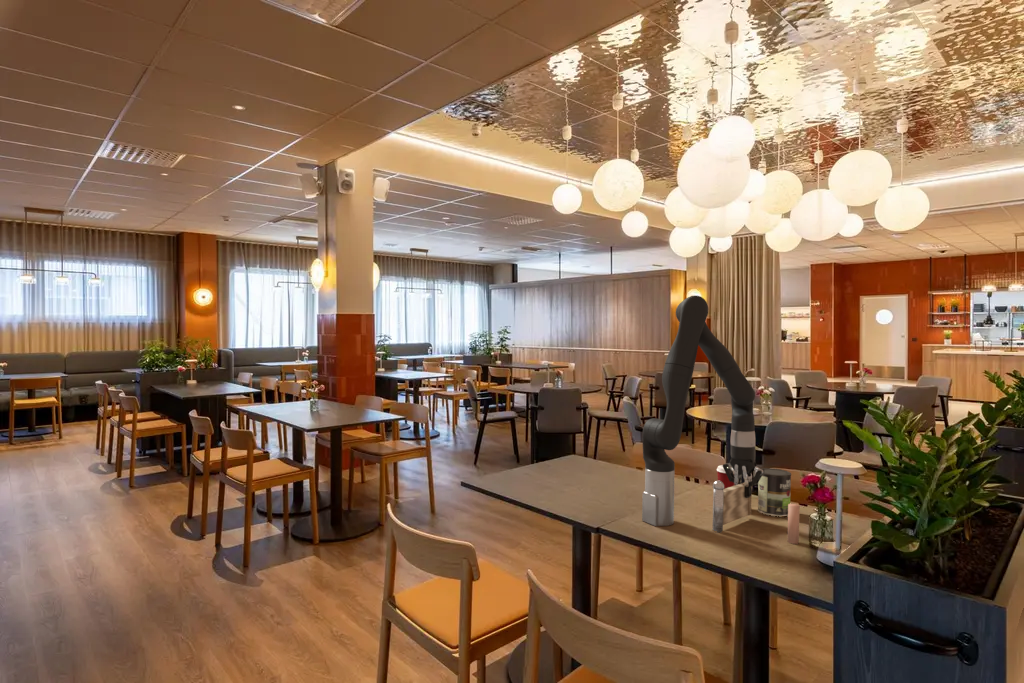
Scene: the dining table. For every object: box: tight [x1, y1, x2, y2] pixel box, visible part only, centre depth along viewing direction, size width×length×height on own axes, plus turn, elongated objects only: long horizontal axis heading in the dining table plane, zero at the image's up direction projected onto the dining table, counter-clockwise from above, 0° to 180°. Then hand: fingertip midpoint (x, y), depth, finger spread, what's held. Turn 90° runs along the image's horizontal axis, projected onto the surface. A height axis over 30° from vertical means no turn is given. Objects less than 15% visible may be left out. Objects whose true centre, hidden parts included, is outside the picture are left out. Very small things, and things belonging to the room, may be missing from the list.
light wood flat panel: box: [723, 481, 753, 526], centre depth 181 cm, size 17×2×10 cm, turn 129°
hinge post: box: [712, 479, 724, 533], centre depth 174 cm, size 3×3×16 cm
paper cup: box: [716, 464, 735, 489], centre depth 198 cm, size 8×8×14 cm
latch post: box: [787, 503, 801, 545], centre depth 165 cm, size 3×3×11 cm
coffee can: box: [757, 467, 792, 518], centre depth 192 cm, size 10×10×14 cm
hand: (743, 496), depth 183 cm, fingers closed on light wood flat panel, 2 cm apart
